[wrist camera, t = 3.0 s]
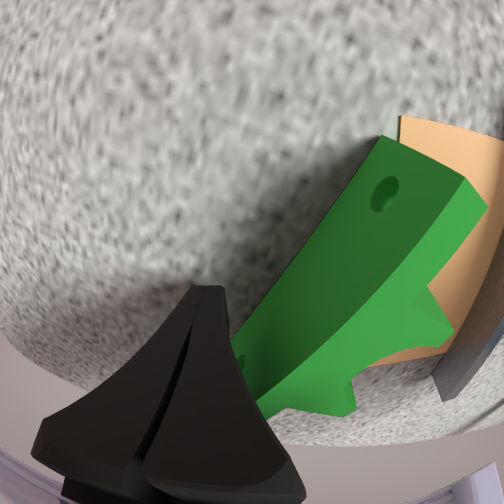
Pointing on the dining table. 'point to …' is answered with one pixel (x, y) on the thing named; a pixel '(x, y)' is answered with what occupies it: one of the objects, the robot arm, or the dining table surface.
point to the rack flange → (465, 256)
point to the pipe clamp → (359, 284)
